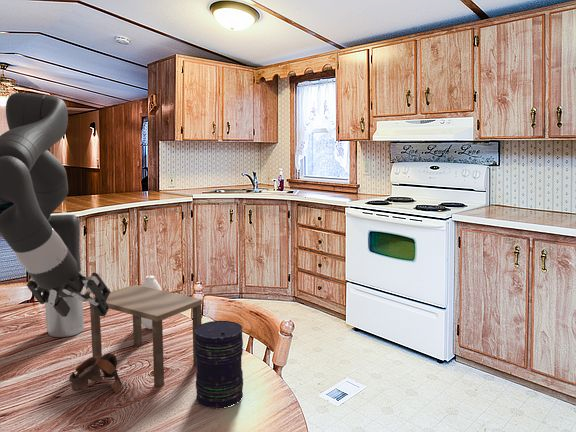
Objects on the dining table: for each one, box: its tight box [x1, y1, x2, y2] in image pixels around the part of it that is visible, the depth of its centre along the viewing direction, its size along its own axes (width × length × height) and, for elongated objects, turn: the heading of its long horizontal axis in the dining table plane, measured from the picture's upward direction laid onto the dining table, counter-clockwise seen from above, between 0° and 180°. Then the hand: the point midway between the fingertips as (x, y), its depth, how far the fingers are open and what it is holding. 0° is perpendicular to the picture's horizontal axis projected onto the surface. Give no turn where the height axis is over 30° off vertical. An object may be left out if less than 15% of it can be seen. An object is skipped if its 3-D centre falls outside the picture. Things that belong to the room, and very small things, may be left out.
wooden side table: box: [89, 284, 203, 388], centre depth 117 cm, size 23×14×16 cm, turn 58°
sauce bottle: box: [140, 267, 163, 330], centre depth 140 cm, size 8×8×18 cm
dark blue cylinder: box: [195, 320, 244, 410], centre depth 102 cm, size 10×10×15 cm
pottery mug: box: [68, 352, 123, 395], centre depth 106 cm, size 12×10×8 cm
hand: (85, 313), depth 97 cm, fingers open, 8 cm apart
